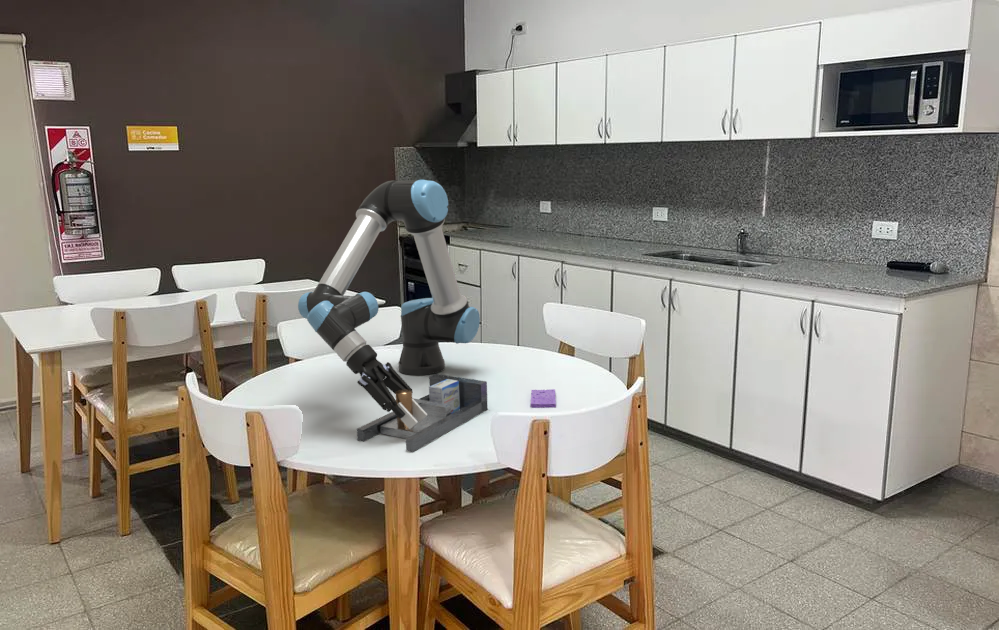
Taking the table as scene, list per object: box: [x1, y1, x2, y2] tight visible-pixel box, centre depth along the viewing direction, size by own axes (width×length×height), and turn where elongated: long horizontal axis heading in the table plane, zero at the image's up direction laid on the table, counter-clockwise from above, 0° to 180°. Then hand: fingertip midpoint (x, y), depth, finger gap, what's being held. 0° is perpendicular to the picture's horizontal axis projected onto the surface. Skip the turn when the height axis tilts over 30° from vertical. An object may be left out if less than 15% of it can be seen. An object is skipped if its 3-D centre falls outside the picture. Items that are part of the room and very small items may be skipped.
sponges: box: [530, 388, 557, 409], centre depth 213 cm, size 7×13×2 cm, turn 177°
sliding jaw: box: [380, 389, 451, 439], centre depth 192 cm, size 12×14×11 cm
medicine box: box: [428, 379, 460, 414], centre depth 203 cm, size 8×4×9 cm, turn 148°
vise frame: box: [356, 373, 489, 453], centre depth 195 cm, size 17×34×8 cm, turn 150°
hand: (418, 421), depth 187 cm, fingers open, 5 cm apart
